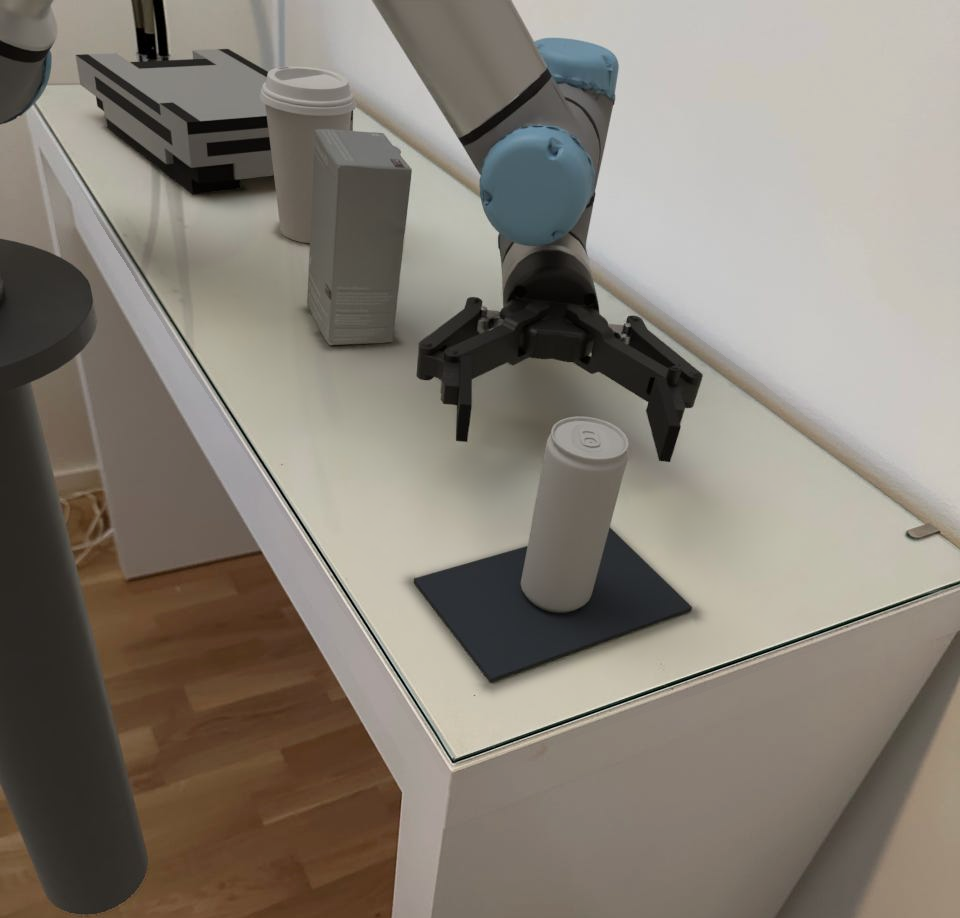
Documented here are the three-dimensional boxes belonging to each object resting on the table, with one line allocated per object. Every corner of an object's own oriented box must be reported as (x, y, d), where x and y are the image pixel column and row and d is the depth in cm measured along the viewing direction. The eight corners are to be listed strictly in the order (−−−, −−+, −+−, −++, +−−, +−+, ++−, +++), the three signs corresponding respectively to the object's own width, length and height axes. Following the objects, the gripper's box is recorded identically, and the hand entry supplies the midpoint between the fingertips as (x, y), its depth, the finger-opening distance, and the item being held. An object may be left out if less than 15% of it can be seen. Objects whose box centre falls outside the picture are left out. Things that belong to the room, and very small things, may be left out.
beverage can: (521, 614, 59) (552, 456, 51) (516, 567, 63) (545, 411, 54) (594, 619, 60) (637, 463, 51) (586, 571, 63) (624, 418, 55)
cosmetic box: (305, 307, 88) (302, 125, 77) (377, 304, 90) (384, 127, 79) (327, 349, 82) (328, 160, 71) (403, 344, 85) (415, 160, 74)
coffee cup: (334, 212, 106) (335, 63, 96) (367, 245, 100) (372, 91, 90) (254, 218, 102) (245, 63, 92) (283, 252, 96) (278, 92, 86)
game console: (231, 105, 131) (227, 38, 125) (351, 182, 114) (353, 108, 108) (85, 116, 120) (73, 43, 114) (194, 202, 103) (186, 122, 98)
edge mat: (413, 582, 61) (413, 578, 61) (604, 527, 68) (605, 523, 68) (490, 683, 55) (491, 678, 55) (691, 611, 62) (692, 607, 62)
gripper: (684, 354, 78) (736, 499, 63) (393, 322, 76) (373, 464, 61) (710, 266, 73) (772, 401, 58) (398, 230, 71) (377, 360, 56)
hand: (567, 434), depth 59 cm, fingers open, 13 cm apart
